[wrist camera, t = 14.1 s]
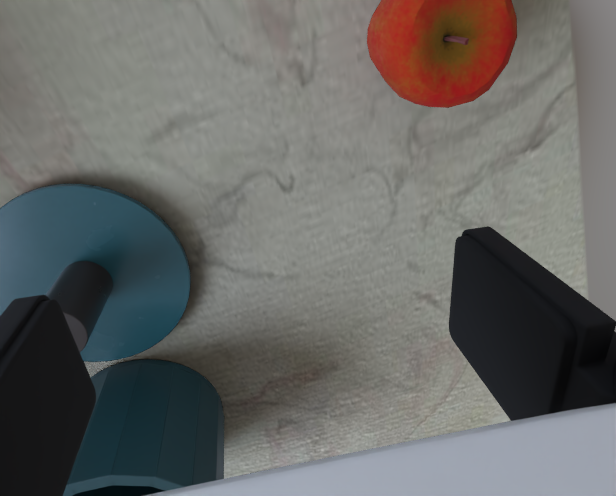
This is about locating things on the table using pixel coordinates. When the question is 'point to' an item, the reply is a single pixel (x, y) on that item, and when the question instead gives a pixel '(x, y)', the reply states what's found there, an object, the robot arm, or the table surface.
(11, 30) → the table surface
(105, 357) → the lid
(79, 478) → the pot
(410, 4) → the apple
